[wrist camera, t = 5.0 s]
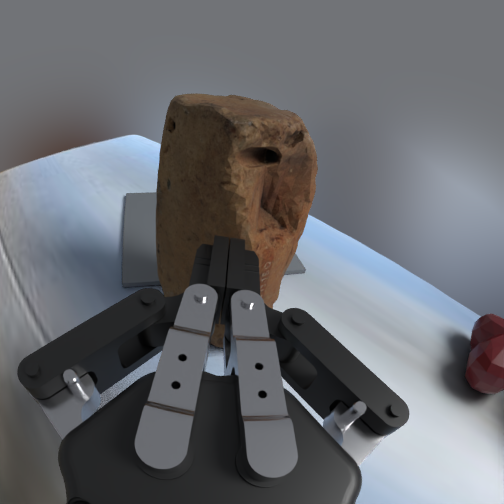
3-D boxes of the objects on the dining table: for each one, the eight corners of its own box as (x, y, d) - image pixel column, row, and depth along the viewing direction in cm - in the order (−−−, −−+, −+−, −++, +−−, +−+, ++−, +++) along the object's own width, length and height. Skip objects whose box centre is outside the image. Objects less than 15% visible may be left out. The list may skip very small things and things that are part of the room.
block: (152, 295, 29) (152, 89, 16) (207, 267, 34) (236, 86, 21) (221, 372, 24) (278, 139, 11) (277, 329, 29) (355, 132, 16)
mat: (126, 196, 45) (126, 193, 44) (252, 195, 53) (252, 192, 52) (122, 287, 29) (122, 283, 29) (304, 272, 37) (305, 269, 37)
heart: (509, 358, 28) (462, 334, 33) (536, 320, 24) (486, 293, 29) (503, 420, 20) (448, 394, 25) (543, 381, 16) (483, 351, 21)
